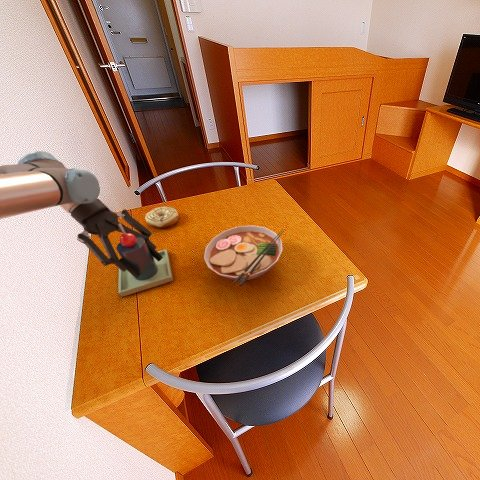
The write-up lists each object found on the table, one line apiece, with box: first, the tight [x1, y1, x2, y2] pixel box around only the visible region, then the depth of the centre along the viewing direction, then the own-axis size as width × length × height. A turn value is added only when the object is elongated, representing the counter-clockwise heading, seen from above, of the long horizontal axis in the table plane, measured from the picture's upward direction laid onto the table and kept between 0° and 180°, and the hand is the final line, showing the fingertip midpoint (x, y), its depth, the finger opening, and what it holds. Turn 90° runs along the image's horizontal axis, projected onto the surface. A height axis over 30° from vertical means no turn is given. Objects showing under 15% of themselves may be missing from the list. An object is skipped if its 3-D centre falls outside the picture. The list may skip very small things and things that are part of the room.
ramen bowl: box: [203, 224, 285, 287], centre depth 84 cm, size 25×23×8 cm
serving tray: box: [117, 249, 174, 298], centre depth 82 cm, size 13×13×2 cm
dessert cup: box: [115, 224, 158, 280], centre depth 76 cm, size 7×7×18 cm
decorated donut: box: [144, 206, 179, 228], centre depth 101 cm, size 10×11×4 cm
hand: (150, 267), depth 79 cm, fingers closed on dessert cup, 7 cm apart
